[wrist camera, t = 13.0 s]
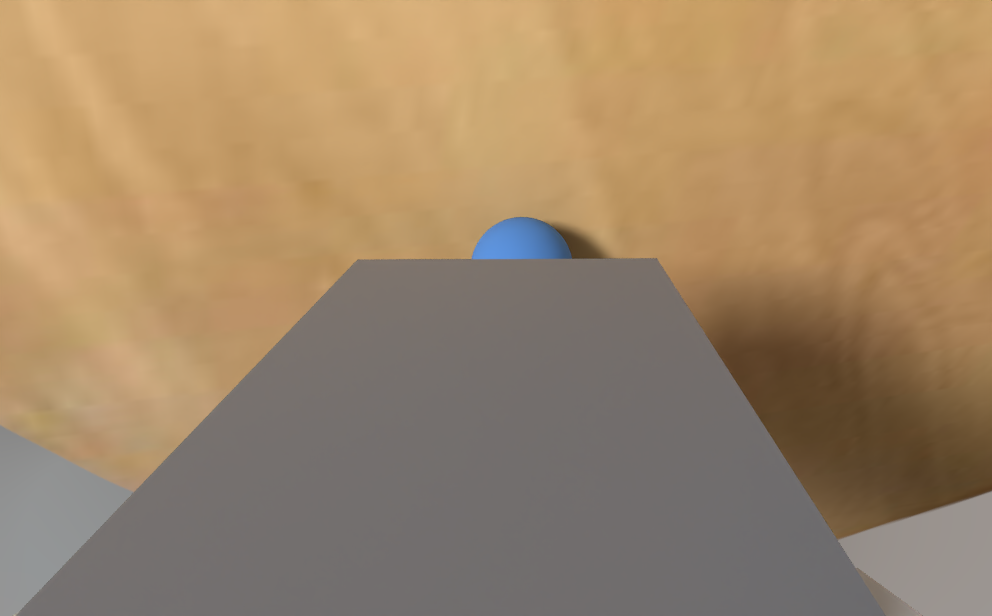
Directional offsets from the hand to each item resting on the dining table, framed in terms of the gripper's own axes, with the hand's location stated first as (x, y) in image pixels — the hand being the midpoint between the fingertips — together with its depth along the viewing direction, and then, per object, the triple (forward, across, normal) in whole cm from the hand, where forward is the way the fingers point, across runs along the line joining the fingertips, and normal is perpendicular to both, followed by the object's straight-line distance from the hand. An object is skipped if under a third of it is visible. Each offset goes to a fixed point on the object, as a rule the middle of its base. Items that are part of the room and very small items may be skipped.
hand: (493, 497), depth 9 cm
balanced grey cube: (+4, 0, +1) cm, 4 cm away
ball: (+17, 0, +2) cm, 17 cm away
